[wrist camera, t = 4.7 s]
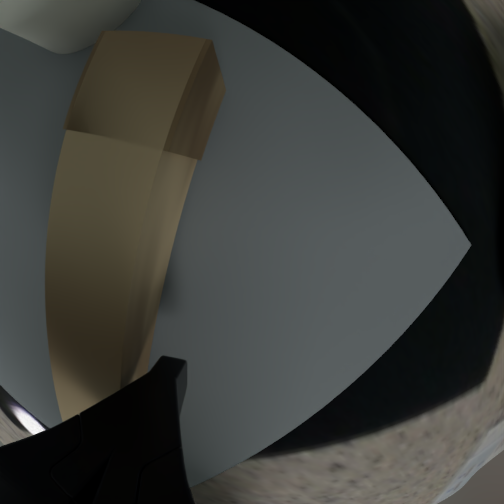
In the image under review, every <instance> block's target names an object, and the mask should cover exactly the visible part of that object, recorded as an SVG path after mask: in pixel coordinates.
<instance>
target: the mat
mask: <svg viewBox="0 0 504 504" xmlns="http://www.w3.org/2000/svg"><path fill="white" fill-rule="evenodd" d="M114 31H145V32H158V33H169V34H177V35H185V36H192V37H198V38H204V39H210V40H212V41H213V45H214V48H215V52H216V55H217V59H218V63H219V66H220V70H221V73H222V77H223V81H224V84H225V88H226V92H225V95H224V97H223V100H222V103H221V105H220V108H219V111H218V113H217V116H216V119H215V122H214V124H213V127H212V130H211V133H210V136H209V139H208V142H207V145H206V148H205V151H204V154H203V157H202V160H201V161H200V160H197V163H196V166H195V169H194V172H193V175H192V179H191V182H190V185H189V189H188V192H187V195H186V199H185V202H184V206H183V209H182V213H181V216H180V220H179V224H178V228H177V231H176V235H175V239H174V243H173V247H172V251H171V255H170V259H169V263H168V267H167V272H166V276H165V281H164V285H163V290H162V294H161V299H160V304H159V309H158V314H157V319H156V324H155V329H154V335H153V340H152V346H151V352H150V358H149V365H148V371H147V373H148V372H149V371H150V370H151V368H152V367H153V366H154V364H155V363H156V362H157V360H158V359H159V358H160V357H161V356H162V355H165V356H170V357H175V358H180V359H184V360H186V361H187V389H186V393H185V397H184V401H183V405H182V409H181V414H180V428H181V438H182V448H183V455H184V463H185V468H186V474H187V479H188V483H189V486H190V488H191V487H193V486H195V485H198V484H200V483H202V482H204V481H206V480H208V479H210V478H212V477H214V476H216V475H218V474H220V473H222V472H224V471H226V470H228V469H230V468H232V467H233V466H235V465H237V464H239V463H241V462H242V461H244V460H246V459H248V458H249V457H251V456H253V455H254V454H256V453H258V452H259V451H261V450H263V449H264V448H266V447H267V446H269V445H271V444H272V443H274V442H275V441H277V440H278V439H280V438H281V437H283V436H284V435H286V434H287V433H289V432H290V431H292V430H293V429H294V428H296V427H297V426H299V425H300V424H301V423H303V422H304V421H305V420H307V419H308V418H310V417H311V416H312V415H314V414H315V413H316V412H317V411H319V410H320V409H321V408H323V407H324V406H325V405H326V404H328V403H329V402H330V401H331V400H333V399H334V398H335V397H336V396H337V395H339V394H340V393H341V392H342V391H343V390H345V389H346V388H347V387H348V386H349V385H350V384H351V383H353V382H354V381H355V380H356V379H357V378H358V377H359V376H360V375H361V374H363V373H364V372H365V371H366V370H367V369H368V368H369V367H370V366H371V365H372V364H373V363H374V362H375V361H376V360H377V359H378V358H379V357H380V356H381V355H382V354H383V353H384V352H385V351H386V350H387V349H388V348H389V347H390V346H391V345H392V344H393V343H394V342H395V341H396V340H397V339H398V338H399V337H400V336H401V335H402V334H403V333H404V331H405V330H406V329H407V328H408V327H409V326H410V325H411V324H412V323H413V321H414V320H415V319H416V318H417V317H418V316H419V315H420V313H421V312H422V311H423V310H424V309H425V307H426V306H427V305H428V304H429V303H430V301H431V300H432V299H433V298H434V296H435V295H436V294H437V293H438V291H439V290H440V289H441V287H442V286H443V285H444V283H445V282H446V281H447V279H448V278H449V277H450V275H451V274H452V273H453V271H454V270H455V268H456V267H457V265H458V264H459V263H460V261H461V260H462V258H463V257H464V255H465V254H466V252H467V251H468V249H469V248H470V246H471V244H470V242H469V241H468V239H467V238H466V236H465V234H464V233H463V231H462V230H461V228H460V227H459V225H458V224H457V222H456V221H455V219H454V218H453V216H452V215H451V213H450V212H449V210H448V209H447V208H446V206H445V205H444V203H443V202H442V201H441V199H440V198H439V197H438V195H437V194H436V193H435V191H434V190H433V189H432V187H431V186H430V185H429V184H428V182H427V181H426V180H425V179H424V177H423V176H422V175H421V174H420V172H419V171H418V170H417V169H416V168H415V166H414V165H413V164H412V163H411V162H410V161H409V159H408V158H407V157H406V156H405V155H404V154H403V153H402V152H401V150H400V149H399V148H398V147H397V146H396V145H395V144H394V143H393V142H392V141H391V140H390V139H389V138H388V137H387V135H386V134H385V133H384V132H383V131H382V130H381V129H380V128H379V127H378V126H377V125H376V124H375V123H374V122H373V121H372V120H371V119H369V118H368V117H367V116H366V115H365V114H364V113H363V112H362V111H361V110H360V109H359V108H358V107H357V106H356V105H354V104H353V103H352V102H351V101H350V100H349V99H348V98H347V97H345V96H344V95H343V94H342V93H341V92H340V91H338V90H337V89H336V88H335V87H334V86H332V85H331V84H330V83H329V82H327V81H326V80H325V79H324V78H322V77H321V76H320V75H319V74H317V73H316V72H315V71H313V70H312V69H311V68H309V67H308V66H307V65H305V64H304V63H303V62H301V61H300V60H298V59H297V58H296V57H294V56H293V55H291V54H290V53H288V52H287V51H285V50H284V49H282V48H281V47H279V46H278V45H276V44H275V43H273V42H272V41H270V40H268V39H267V38H265V37H264V36H262V35H260V34H259V33H257V32H255V31H253V30H252V29H250V28H248V27H247V26H245V25H243V24H241V23H239V22H237V21H236V20H234V19H232V18H230V17H228V16H226V15H224V14H222V13H220V12H218V11H216V10H214V9H212V8H210V7H208V6H205V5H203V4H201V3H199V2H196V1H194V0H141V2H140V3H139V5H138V6H137V7H136V9H135V10H134V11H133V12H132V13H131V15H130V16H129V17H128V18H127V19H126V20H125V21H124V22H123V23H122V24H121V25H119V26H118V27H117V28H116V29H115V30H114ZM94 45H95V43H94V44H93V45H91V46H89V47H87V48H85V49H82V50H80V51H77V52H73V53H69V54H57V53H54V52H51V51H49V50H47V49H45V48H43V47H41V46H39V45H37V44H35V43H33V42H31V41H29V40H27V39H24V38H22V37H20V36H18V35H15V34H13V33H11V32H9V31H6V30H4V29H2V28H0V385H1V386H2V387H3V388H4V389H5V390H6V391H7V392H8V393H9V394H10V395H11V396H12V397H13V398H14V399H16V400H17V401H18V402H19V403H20V404H21V405H22V406H23V407H24V408H25V409H27V410H28V411H29V412H30V413H31V414H33V415H34V416H35V417H36V418H37V419H39V420H40V421H41V422H42V423H44V424H45V425H46V426H47V427H49V428H52V427H54V426H56V425H58V424H60V423H62V418H61V414H60V410H59V406H58V401H57V396H56V392H55V387H54V381H53V376H52V369H51V363H50V356H49V348H48V338H47V327H46V311H45V257H46V241H47V229H48V220H49V212H50V204H51V198H52V191H53V186H54V180H55V175H56V170H57V165H58V161H59V156H60V152H61V148H62V144H63V140H64V136H65V133H66V129H63V126H64V123H65V119H66V116H67V113H68V110H69V107H70V104H71V101H72V98H73V95H74V92H75V90H76V87H77V84H78V82H79V79H80V77H81V74H82V72H83V70H84V67H85V65H86V63H87V60H88V58H89V56H90V54H91V52H92V49H93V47H94Z"/></svg>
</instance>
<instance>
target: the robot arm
mask: <svg viewBox="0 0 504 504" xmlns="http://www.w3.org/2000/svg"><path fill="white" fill-rule="evenodd" d="M186 389H187V361H186V360H184V359H180V358H175V357H170V356H165V355H162V356H161V357H160V358H159V359H158V360H157V362H156V363H155V364H154V366H153V367H152V368H151V370H150V371H149V372H148V373H146V374H144V375H143V376H141V377H140V378H138V379H136V380H135V381H133V382H131V383H130V384H128V385H126V386H125V387H123V388H122V389H120V390H118V391H116V392H115V393H113V394H111V395H110V396H108V397H106V398H105V399H103V400H101V401H99V402H98V403H96V404H94V405H93V406H91V407H89V408H87V409H86V410H84V411H82V412H80V414H79V415H80V416H79V415H78V414H76V415H75V416H73V417H71V418H69V419H67V420H66V421H64V422H62V423H60V424H58V425H56V426H54V427H52V428H50V429H47V430H45V431H42V432H40V433H38V434H35V435H33V436H30V437H27V438H24V439H21V440H19V441H16V442H13V443H10V444H7V445H4V446H1V447H0V504H195V502H194V499H193V496H192V493H191V489H190V486H189V483H188V479H187V474H186V468H185V463H184V455H183V448H182V438H181V428H180V414H181V409H182V405H183V401H184V397H185V393H186Z"/></svg>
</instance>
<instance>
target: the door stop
mask: <svg viewBox="0 0 504 504" xmlns="http://www.w3.org/2000/svg"><path fill="white" fill-rule="evenodd" d="M140 2H141V0H0V28H2V29H4V30H6V31H9V32H11V33H13V34H15V35H18V36H20V37H22V38H24V39H27V40H29V41H31V42H33V43H35V44H37V45H39V46H41V47H43V48H45V49H47V50H49V51H51V52H54V53H57V54H69V53H73V52H77V51H80V50H82V49H85V48H87V47H89V46H91V45H93V44H94V43H96V41H97V39H98V37H99V35H100V33H101V31H114V30H115V29H116V28H117V27H118V26H119V25H121V24H122V23H123V22H124V21H125V20H126V19H127V18H128V17H129V16H130V15H131V13H132V12H133V11H134V10H135V9H136V7H137V6H138V5H139V3H140Z"/></svg>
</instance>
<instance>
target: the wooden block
mask: <svg viewBox="0 0 504 504" xmlns="http://www.w3.org/2000/svg"><path fill="white" fill-rule="evenodd" d="M225 92H226V88H225V84H224V81H223V77H222V73H221V70H220V66H219V63H218V59H217V55H216V52H215V48H214V45H213V41H212V40H210V39H204V38H198V37H192V36H185V35H177V34H169V33H158V32H145V31H101V33H100V35H99V37H98V39H97V41H96V43H95V45H94V47H93V49H92V52H91V54H90V56H89V58H88V60H87V63H86V65H85V67H84V70H83V72H82V74H81V77H80V79H79V82H78V84H77V87H76V90H75V92H74V95H73V98H72V101H71V104H70V107H69V110H68V113H67V116H66V119H65V123H64V126H63V129H66V133H65V136H64V140H63V144H62V148H61V152H60V156H59V161H58V165H57V170H56V175H55V180H54V186H53V191H52V198H51V204H50V212H49V220H48V229H47V241H46V257H45V311H46V327H47V338H48V348H49V356H50V363H51V369H52V376H53V381H54V387H55V392H56V396H57V401H58V406H59V410H60V414H61V418H62V422H64V421H66V420H67V419H69V418H71V417H73V416H75V415H76V414H78V415H79V414H80V412H82V411H84V410H86V409H87V408H89V407H91V406H93V405H94V404H96V403H98V402H99V401H101V400H103V399H105V398H106V397H108V396H110V395H111V394H113V393H115V392H116V391H118V390H120V389H122V388H123V387H125V386H126V385H128V384H130V383H131V382H133V381H135V380H136V379H138V378H140V377H141V376H143V375H144V374H146V373H147V371H148V365H149V358H150V352H151V346H152V340H153V335H154V329H155V324H156V319H157V314H158V309H159V304H160V299H161V294H162V290H163V285H164V281H165V276H166V272H167V267H168V263H169V259H170V255H171V251H172V247H173V243H174V239H175V235H176V231H177V228H178V224H179V220H180V216H181V213H182V209H183V206H184V202H185V199H186V195H187V192H188V189H189V185H190V182H191V179H192V175H193V172H194V169H195V166H196V163H197V160H200V161H201V160H202V157H203V154H204V151H205V148H206V145H207V142H208V139H209V136H210V133H211V130H212V127H213V124H214V122H215V119H216V116H217V113H218V111H219V108H220V105H221V103H222V100H223V97H224V95H225ZM79 416H80V415H79Z"/></svg>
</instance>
